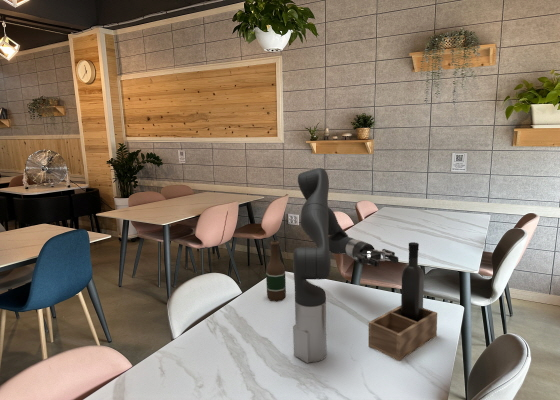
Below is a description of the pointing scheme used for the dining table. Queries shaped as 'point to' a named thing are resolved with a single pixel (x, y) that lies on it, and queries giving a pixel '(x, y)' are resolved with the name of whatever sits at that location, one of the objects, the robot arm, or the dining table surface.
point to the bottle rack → (401, 333)
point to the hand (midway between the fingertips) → (388, 262)
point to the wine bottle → (412, 287)
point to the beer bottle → (275, 275)
